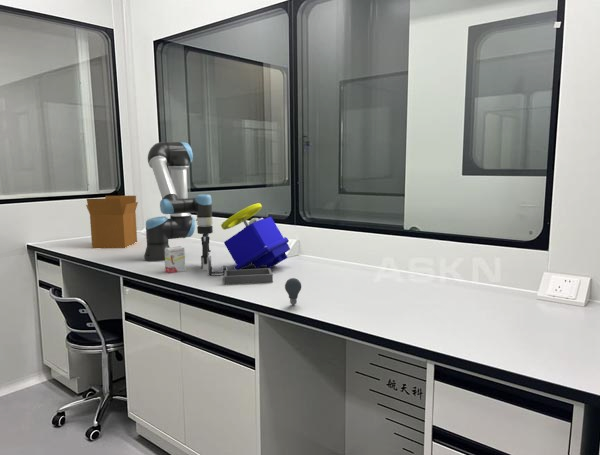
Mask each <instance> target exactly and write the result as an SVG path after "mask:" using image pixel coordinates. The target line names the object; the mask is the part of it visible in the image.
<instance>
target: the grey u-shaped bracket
mask: <svg viewBox="0 0 600 455" xmlns="http://www.w3.org/2000/svg"><path fill="white" fill-rule="evenodd" d="M225 270H227V265H223V266H222V270H218V271H217V270H215V271H213V266H212V265H211V266H210V267H208V270H207V271H208V276H209V277H222V276H224V272H225Z"/></svg>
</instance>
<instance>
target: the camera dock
mask: <svg viewBox="0 0 600 455" xmlns="http://www.w3.org/2000/svg"><path fill="white" fill-rule="evenodd" d="M273 278H274V277H273V272H272V268H267V267H265V268H257V269H256V268H247V269H244V268H242V269H240V270H235V269H226V270H225V272H224V278H223V280H224V281H223V282H224V283H223V284H224V285H244V284H264V283H274V281H273Z"/></svg>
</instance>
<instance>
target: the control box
mask: <svg viewBox="0 0 600 455" xmlns="http://www.w3.org/2000/svg"><path fill="white" fill-rule="evenodd" d="M262 208H263V205H262V204H261V203H260V202H258V203H257V202H256V203H255V204H251V205H249V206H246V207H245V208H243V209H241V210H239V211H238V212H236V213H235V214H232V215H231V216H230V217H228V218H227V219H226V220H225V221H223V222H222V223H221V224H220V226H221V229H222V230H228V229H229V230H230V229H231V228H233V227H236V226H238V225H240V224H241V223H243V224H244V226H245V227H244V228H242V229H241V230H239V231H238V232H237V233H236V234H234V235H232V236H231V237H230V238H227V239H226V240H225V241H224V242H223V244H224V245H225V247H226V249H227V251H228V253H229V254H230V256H231V258H232V260H233V261H234V263H235V264H234V266H233V267H234V270H242V269H244V268H246V267H248V266H250V265H253V266H254V269H260V268H261V267H265V268H270V269H272V268H273V267H275V266H277V265H278V264H279V263H281V262H283V261H284V260H286V259H288V255H287V254H286V253H287V252H288V251H290V250H291V248H290V246H289V244H288V243H289V242H290V240H289V239H288V237H286V236H283V234H282V233H281V231H280V229H279V228H278V226H277V224H276V222H275V220H274V219H273V217H272V216H269V217H266V218H263V217H260V218H258V217H253V216H255V215H256V214H258V212H260V211H261V209H262ZM252 217H253V218H252ZM249 219H250V220H249ZM247 220H249V221H248V222H247Z"/></svg>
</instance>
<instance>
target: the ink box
mask: <svg viewBox="0 0 600 455" xmlns="http://www.w3.org/2000/svg"><path fill="white" fill-rule="evenodd" d="M169 247H170V248H165V260H164V266H165V268H164V270H165V273H167V274H173V273H180V272H185V271H186V260H185V258H186V256H185V247H183V246H169Z"/></svg>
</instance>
